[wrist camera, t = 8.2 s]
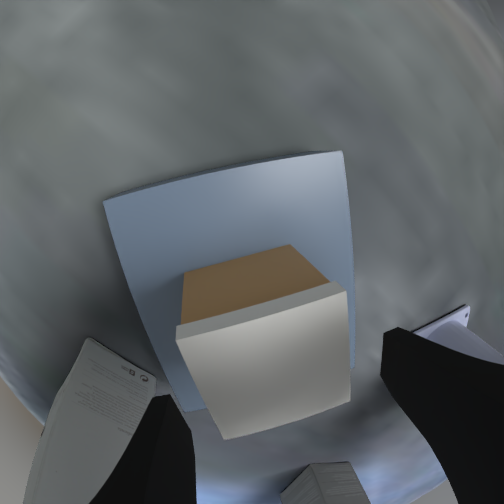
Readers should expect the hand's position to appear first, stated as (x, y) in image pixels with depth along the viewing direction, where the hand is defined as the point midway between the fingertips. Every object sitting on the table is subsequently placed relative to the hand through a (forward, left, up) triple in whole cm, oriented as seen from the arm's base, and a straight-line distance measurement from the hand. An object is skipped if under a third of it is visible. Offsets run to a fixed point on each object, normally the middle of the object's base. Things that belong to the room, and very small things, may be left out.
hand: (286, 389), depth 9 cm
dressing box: (0, 0, -10) cm, 10 cm away
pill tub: (0, 0, -6) cm, 6 cm away
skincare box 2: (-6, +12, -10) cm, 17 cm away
